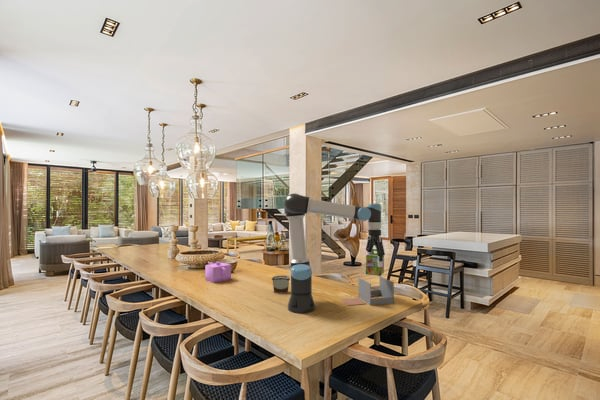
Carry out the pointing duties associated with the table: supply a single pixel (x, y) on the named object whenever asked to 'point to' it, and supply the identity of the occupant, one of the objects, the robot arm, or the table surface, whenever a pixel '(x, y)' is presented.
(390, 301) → the grey open holder
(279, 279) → the food container
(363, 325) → the table surface
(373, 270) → the green juice carton
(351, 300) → the mat
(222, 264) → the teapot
